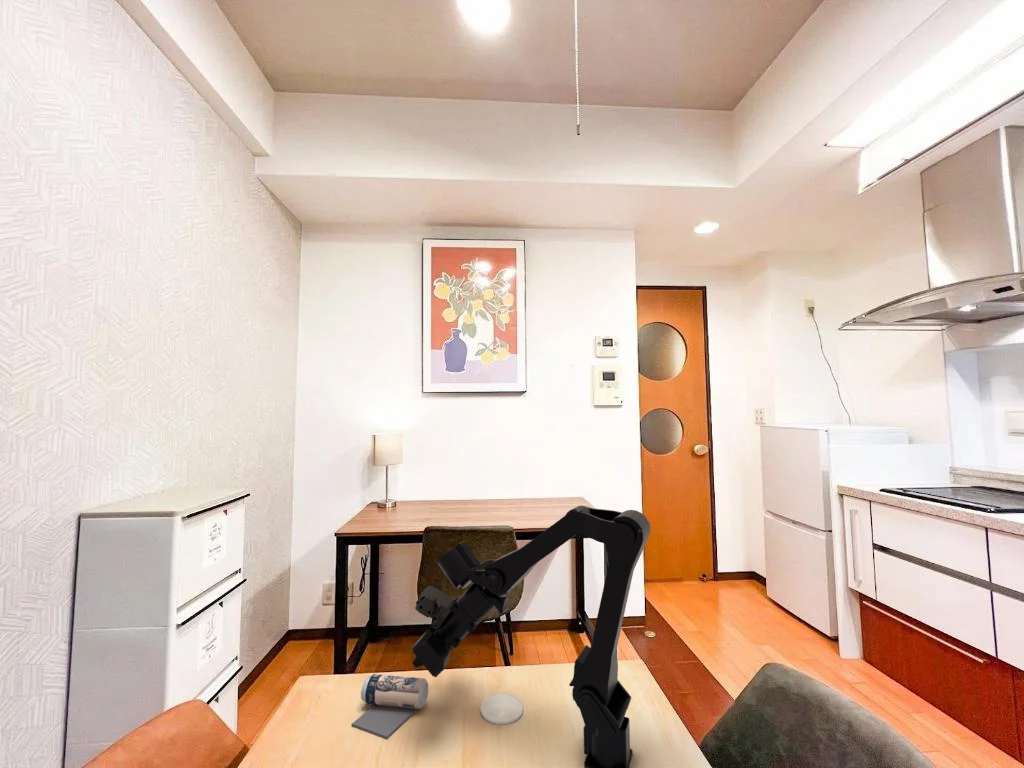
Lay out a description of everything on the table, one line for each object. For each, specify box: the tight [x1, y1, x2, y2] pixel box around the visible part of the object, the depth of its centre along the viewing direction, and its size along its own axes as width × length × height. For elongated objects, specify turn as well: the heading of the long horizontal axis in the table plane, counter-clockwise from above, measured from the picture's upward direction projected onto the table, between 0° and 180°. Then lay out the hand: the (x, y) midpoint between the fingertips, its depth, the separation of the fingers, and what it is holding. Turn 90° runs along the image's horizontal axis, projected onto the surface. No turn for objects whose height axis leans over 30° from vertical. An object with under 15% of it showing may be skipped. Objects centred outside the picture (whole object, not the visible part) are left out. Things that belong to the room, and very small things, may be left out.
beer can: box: [360, 673, 429, 710], centre depth 85 cm, size 5×5×12 cm
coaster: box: [480, 692, 524, 726], centre depth 84 cm, size 8×8×1 cm
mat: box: [351, 705, 419, 740], centre depth 82 cm, size 8×10×1 cm
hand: (414, 664), depth 85 cm, fingers closed
